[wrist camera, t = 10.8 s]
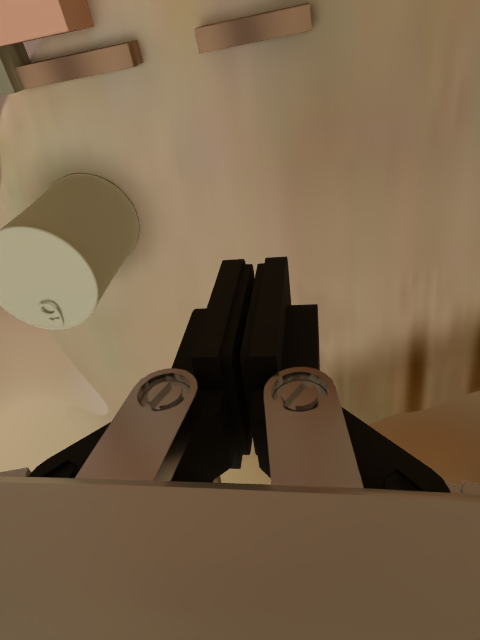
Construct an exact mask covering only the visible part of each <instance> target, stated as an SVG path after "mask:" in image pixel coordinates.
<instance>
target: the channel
mask: <svg viewBox="0 0 480 640" xmlns="http://www.w3.org/2000/svg"><path fill="white" fill-rule="evenodd" d="M194 30H195V34H196V39H197V44H198V49H199V53H204V52H209V51H214V50H219V49H224V48H229V47H233V46H238V45H243V44H248V43H253V42H258V41H263V40H268V39H272V38H277V37H282V36H287V35H292V34H297V33H302V32H307V31H311V30H312V23H311V10H310V4H309V3H308V4H303V5H299V6H294V7H289V8H285V9H280V10H275V11H271V12H266V13H261V14H257V15H252V16H248V17H243V18H238V19H234V20H229V21H224V22H220V23H215V24H211V25H206V26H201V27H198V28H196V29H194ZM141 63H143V61H142V57H141V54H140V50H139V46H138V42H137V41H132V42H127V43H123V44H118V45H113V46H109V47H104V48H100V49H95V50H90V51H86V52H81V53H76V54H72V55H67V56H63V57H58V58H53V59H49V60H44V61H39V62H35V63H31V62H30V60H29V57H28V55H27V52H26V49H25V47H24V44H23V42H21V43H16V44H11V45H5V46H0V96H2V95H7V94H12V93H16V92H19V91H21V90H24V89H29V88H34V87H39V86H43V85H48V84H53V83H58V82H63V81H68V80H73V79H78V78H82V77H87V76H92V75H97V74H102V73H107V72H112V71H117V70H121V69H126V68H131V67H135V66H137V65H139V64H141Z"/></svg>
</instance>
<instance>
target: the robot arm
mask: <svg viewBox="0 0 480 640" xmlns="http://www.w3.org/2000/svg"><path fill="white" fill-rule="evenodd" d="M252 437H253V442H254V448H255V453H256V455H258V461H259V467H260V468H261V469H262V470H263V471H264V472H265V473H266V474H267V475H268V476H269V477H270V478H271V485H264V484H263V485H262V484H233V483H221V477H220V475H221V474H223V473H224V472H225V471H227V470H228V469H230V468H232V469H240V468H241V461H242V455H249V454H250V451H251V445H252ZM0 640H480V484H477V483H473V482H468V481H463V483H462V486H458V485H454V484H449V483H445V482H444V480H443V479H442V478H441V477H440V476H439V475H438V474H437V473H436V472H434V471H433V470H432V469H431V468H429V467H428V466H426V465H425V464H423V463H422V462H421V461H419V460H417V459H416V458H415V457H413V456H412V455H410V454H409V453H407V452H406V451H404V450H403V449H402V448H400V447H399V446H397V445H396V444H394V443H393V442H392V441H390V440H389V439H387V438H386V437H384V436H383V435H381V434H380V433H378V432H377V431H375V430H374V429H373V428H371V427H370V426H368V425H367V424H365V423H364V422H363V421H361V420H360V419H358V418H357V417H355V416H354V415H352V414H351V413H350V412H348V411H347V410H345V409H344V408H342V407H341V404H340V400H339V397H338V393H337V390H336V386H335V384H334V383H333V381H332V379H331V378H330V377H329V376H328V375H326V374H325V373H324V372H321V371H320V364H319V329H318V306H317V304H313V305H291V296H290V284H289V271H288V260H287V257H273V258H266V259H265V263H263V264H258V265H257V270H256V275H255V278H254V270H253V265H252V264H245V260H244V259H237V260H223V261H222V264H221V267H220V270H219V273H218V276H217V279H216V282H215V285H214V288H213V291H212V294H211V297H210V300H209V303H208V306H207V308H205V309H195V310H194V311H193V312H192V315H191V317H190V320H189V323H188V325H187V328H186V331H185V333H184V336H183V339H182V342H181V344H180V347H179V350H178V352H177V355H176V358H175V360H174V363H173V366H172V368H171V369H163V370H159V371H156V372H153V373H151V374H149V375H147V376H146V377H144V378H143V379H141V380H140V381H139V382H138V383H137V384H136V385H135V387H134V388H133V389H132V391H131V392H130V394H129V395H128V397H127V399H126V400H125V402H124V403H123V405H122V406H121V408H120V409H119V411H118V412H117V414H116V415H115V417H114V419H113V420H112V422H110V423H108V424H107V425H105V426H103V427H102V428H100V429H98V430H96V431H95V432H93V433H91V434H90V435H88V436H86V437H85V438H83V439H81V440H79V441H78V442H76V443H74V444H73V445H71V446H69V447H68V448H66V449H64V450H62V451H61V452H59V453H57V454H55V455H54V456H52V457H50V458H49V459H47V460H46V461H44V462H43V463H42V464H40V465H39V466H37V467H36V469H35V470H34V471H33V472H30V470H29V468H22V469H16V470H11V471H5V472H0Z"/></svg>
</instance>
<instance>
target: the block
mask: <svg viewBox="0 0 480 640" xmlns="http://www.w3.org/2000/svg"><path fill="white" fill-rule="evenodd" d="M89 27H94V24H93V21H92V17H91V14H90V11H89V8H88V4H87V1H86V0H0V46H5V45H11V44H16V43H21V42H26V41H31V40H35V39H40V38H44V37H49V36H53V35H58V34H62V33H67V32H71V31H76V30H80V29H85V28H89Z"/></svg>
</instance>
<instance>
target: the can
mask: <svg viewBox="0 0 480 640" xmlns="http://www.w3.org/2000/svg"><path fill="white" fill-rule="evenodd" d="M138 236H139V221H138V217H137V214H136V211H135V209H134V207H133V205H132V203H131V202H130V200H129V199H128V197H127V196H126V195H125V194H124V193H123V192H122V191H121V190H120V189H119V188H118V187H117V186H115V185H114V184H112V183H111V182H109V181H107V180H105V179H103V178H101V177H98V176H95V175H91V174H82V173H80V174H71V175H68V176H65V177H63V178H61V179H59V180H58V181H56V182H55V183H54V184H53V185H52V186H51V187H50V189H49V190H48V191H47V192H46V193H45V194H44V195H43V196H41V197H40V198H39V199H38V200H37V201H35V202H34V203H33V204H32V205H31V206H29V207H28V208H27V209H26V210H24V211H23V212H22V213H21V214H19V215H18V216H17V217H16V218H14V219H13V220H12V221H11V222H9V223H8V224H7V225H6V226H4V227H3V228H2V229H0V306H2V307H3V308H4V309H5V310H6V311H7V312H9V313H10V314H12V315H13V316H14V317H16V318H18V319H20V320H22V321H24V322H26V323H28V324H31V325H33V326H37V327H40V328H45V329H53V330H61V329H68V328H72V327H75V326H78V325H80V324H82V323H83V322H85V321H86V320H87V319H88V318H89V317H90V316H91V315H92V314H93V312H94V310H95V308H96V306H97V304H98V302H99V300H100V298H101V297H102V295H103V293H104V292H105V290H106V288H107V287H108V285H109V283H110V282H111V280H112V279H113V277H114V275H115V274H116V272H117V271H118V269H119V267H120V266H121V264H122V263H123V261H124V260H125V258H126V257H127V256H128V255H129V254H130V253H131V251H132V250H133V249H134V247H135V245H136V243H137V240H138Z"/></svg>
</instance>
